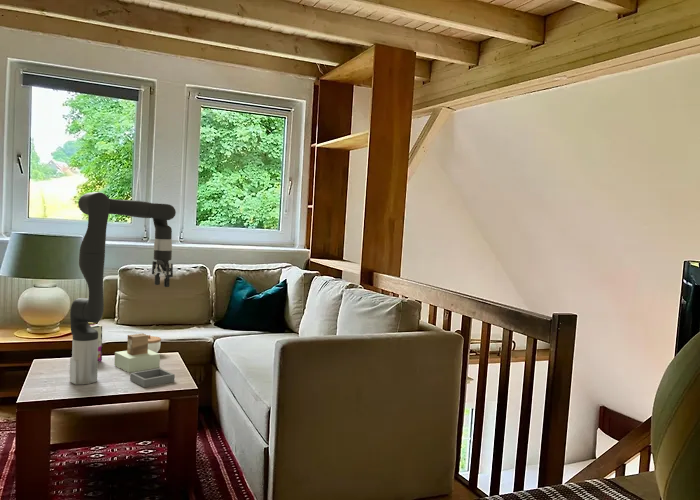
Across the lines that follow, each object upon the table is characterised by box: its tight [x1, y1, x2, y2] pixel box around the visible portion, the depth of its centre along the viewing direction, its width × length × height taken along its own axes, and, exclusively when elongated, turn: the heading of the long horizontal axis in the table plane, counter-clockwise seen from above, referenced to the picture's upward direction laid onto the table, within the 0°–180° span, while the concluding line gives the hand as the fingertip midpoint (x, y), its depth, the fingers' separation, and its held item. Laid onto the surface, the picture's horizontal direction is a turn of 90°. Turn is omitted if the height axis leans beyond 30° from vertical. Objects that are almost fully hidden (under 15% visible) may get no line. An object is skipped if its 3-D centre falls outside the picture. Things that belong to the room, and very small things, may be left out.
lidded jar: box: [147, 334, 162, 353], centre depth 272 cm, size 11×11×9 cm
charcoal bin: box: [129, 367, 175, 388], centre depth 230 cm, size 13×12×3 cm
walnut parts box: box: [126, 332, 149, 355], centre depth 250 cm, size 5×7×8 cm
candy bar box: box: [89, 323, 103, 362], centre depth 253 cm, size 11×5×16 cm, turn 143°
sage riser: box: [114, 349, 161, 373], centre depth 250 cm, size 14×14×6 cm
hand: (161, 285), depth 251 cm, fingers open, 8 cm apart
